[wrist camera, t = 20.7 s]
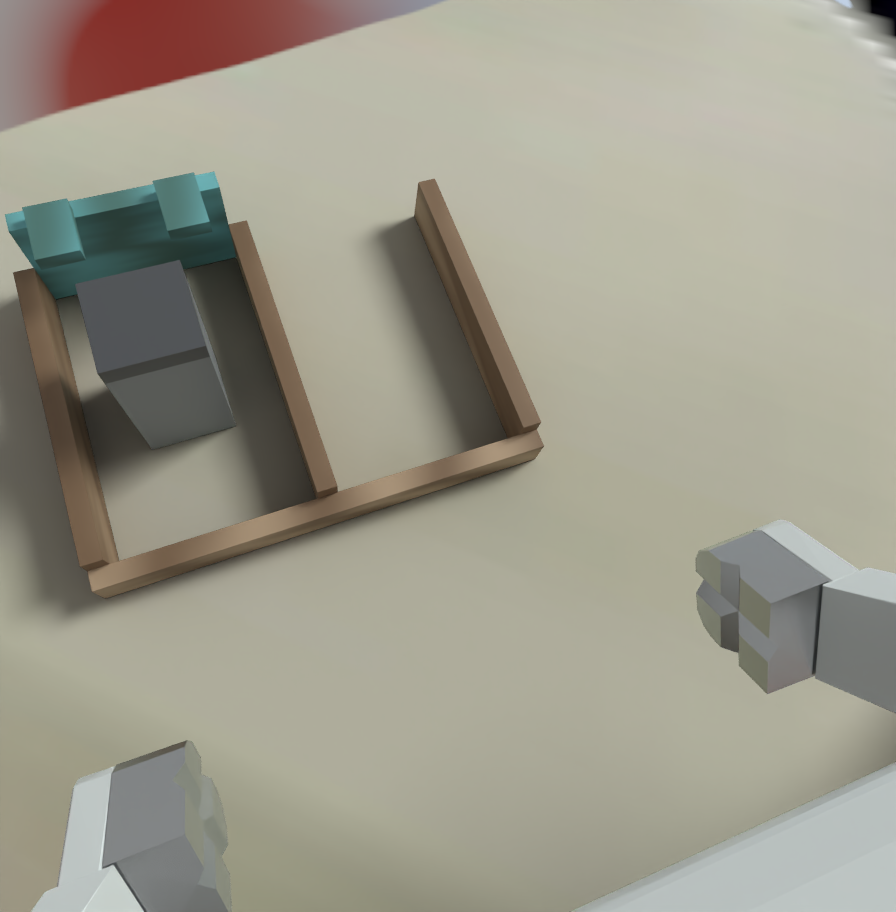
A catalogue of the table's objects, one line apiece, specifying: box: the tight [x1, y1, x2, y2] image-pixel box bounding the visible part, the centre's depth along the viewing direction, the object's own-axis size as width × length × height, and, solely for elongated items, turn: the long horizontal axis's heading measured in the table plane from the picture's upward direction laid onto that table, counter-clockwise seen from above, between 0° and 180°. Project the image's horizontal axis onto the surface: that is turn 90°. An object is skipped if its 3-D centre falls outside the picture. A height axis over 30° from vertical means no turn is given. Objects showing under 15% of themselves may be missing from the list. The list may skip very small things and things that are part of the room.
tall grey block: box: [75, 260, 236, 450], centre depth 36 cm, size 4×4×9 cm
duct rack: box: [5, 172, 544, 599], centre depth 38 cm, size 23×18×7 cm
